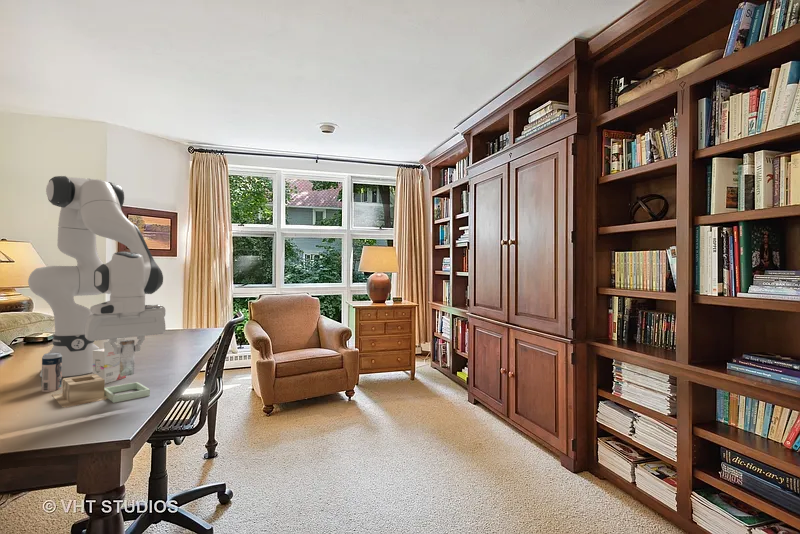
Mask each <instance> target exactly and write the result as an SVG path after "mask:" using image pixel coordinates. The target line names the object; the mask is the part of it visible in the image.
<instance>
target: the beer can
mask: <svg viewBox="0 0 800 534" xmlns="http://www.w3.org/2000/svg"><path fill="white" fill-rule="evenodd" d="M41 371H42V377H41V392H42V393H43V392H46V393H47V392H48V393H49V392H55V391H59V390H61V389H62V385H63V377H62V355H61V354H60V353H44V354H43V356H42V357H41Z"/></svg>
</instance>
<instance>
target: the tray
mask: <svg viewBox="0 0 800 534" xmlns="http://www.w3.org/2000/svg"><path fill="white" fill-rule="evenodd" d="M131 390H136V391H131ZM127 391H129V392H127ZM130 391H131V392H130ZM118 392H125V393H121V394H120V393H119V394H114V393H118ZM150 395H151V389H150V388H148V387H147V386H145V385H144V384H142V383H140V382H138V381H136V382H129V383H123V384H118V385H113V386H107V387H104V396H106V397H107V398H108V399H107V400H110V401H111V402H112V403H118V402H123V401H129V400H133V399H139V398H145V397H149V396H150Z"/></svg>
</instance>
